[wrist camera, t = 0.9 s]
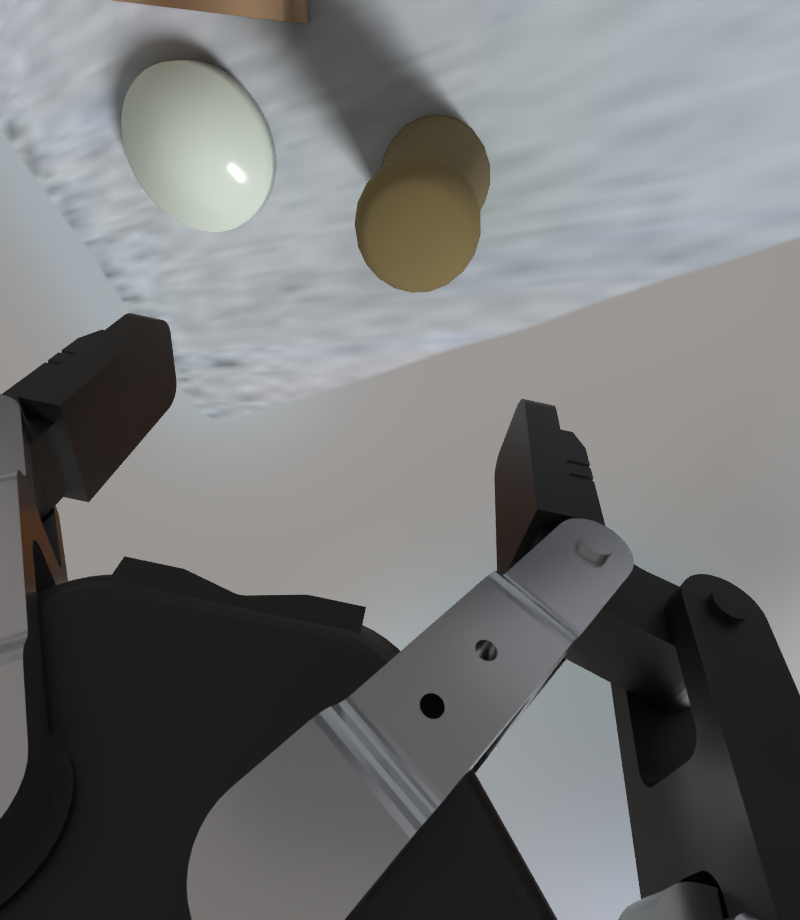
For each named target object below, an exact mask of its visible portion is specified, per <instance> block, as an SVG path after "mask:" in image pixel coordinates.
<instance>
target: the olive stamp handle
mask: <svg viewBox="0 0 800 920" xmlns="http://www.w3.org/2000/svg"><path fill="white" fill-rule="evenodd" d="M489 186H490V164H489V161H488V158H487V154H486V151H485V148H484V145H483V144H482V143H481V141H480V140H479V138H478V137H477V135H476V134H475V132H474V131H473V130H472V129H470V128H469V127H468V126H466V125H465V124H463V123H462V122H461V121H459V120H458V119H454V118H450V117H447V116H443V115H434V116H426V117H421V118H419V119H417V120H415V121H413V122H411V123H409V124H407V125H406V126H405V127H404V128H403V129H402V130H401V131H400V132H399V133H398V134H397V135H396V136H395V137H394V138H393V139H392V141H391V143H390V145H389V148H388V150H387V152H386V154H385V156H384V160H383V166H382V168H381V169H380V170H379V171H378V172H377V173H376V174H375V175H374V176H373V177H372V178H371V180H370V181H369V182H368V183H367V184H366V186H365V188H364V190H363V193H362V195H361V197H360V199H359V201H358V204H357V211H356V218H355V228H356V235H357V241H358V247H359V249H360V252H361V254H362V256H363V258H364V260H365V262H366V264H367V266H368V267H369V268H370V269H371V270H372V271H373V272H374V273H375V275H376V276H377V277H378V278H379V279H381V280H382V281H384V282H385V283H387V284H389V285H390V286H392V287H394V288H396V289H400V290H404V291H408V292H429V291H432V290H435V289H437V288H440V287H442V286H445V285H447V284H448V283H449V282H451V281H452V280H453V279H454V278H456V277H457V276H458V275H459V274H461V273H462V272H463V271H464V269H465V268H466V266H467V265H468V263H469V262H470V260H471V259H472V257H473V256H474V254H475V251H476V248H477V244H478V241H479V238H480V209H481V208H482V206H483V204H484V203H485V199H486V196H487V193H488V189H489Z"/></svg>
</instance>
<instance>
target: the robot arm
mask: <svg viewBox="0 0 800 920" xmlns="http://www.w3.org/2000/svg"><path fill="white" fill-rule="evenodd" d="M175 393H176V374H175V366H174V358H173V350H172V341H171V333H170V329H169V326H168V324H167V323H166V322H165V321H164V320H160V319H155V318H150V317H146V316H141V315H137V314H132V313H128V314H126V315H124V316H123V317H121V318H120V319H119V320H118V321H116V322H115V323H114V324H112V325H111V326H110V327H108V328H107V329H106V330H100V331H97V332H94V333H91V334H89V335H86V336H83V337H80V338H78V339H76V340H75V341H74V342H73V343H71V344H70V345H68V346H67V347H65V348H64V349H63V350H62V353H57V354H56V355H55V356H53V357H52V358H50V359H49V360H48V363H44V364H42V365H41V366H40V367H38V368H37V369H36V370H34V371H33V372H31V373H30V374H29V375H27V376H26V377H25V378H23V379H22V380H21V381H19V382H18V383H16V384H15V385H14V386H12V387H11V388H10V389H8V390H7V391H6V392H4V393H3V394H0V920H557V918H556V916H555V915H554V913H553V911H552V909H551V908H550V906H549V904H548V902H547V900H546V899H545V897H544V895H543V893H542V891H541V890H540V888H539V886H538V884H537V883H536V881H535V879H534V877H533V876H532V874H531V872H530V870H529V868H528V867H527V865H526V863H525V861H524V859H523V858H522V856H521V854H520V852H519V851H518V849H517V847H516V846H515V844H514V842H513V840H512V838H511V837H510V835H509V833H508V831H507V829H506V828H505V826H504V824H503V822H502V821H501V819H500V817H499V815H498V813H497V811H496V810H495V808H494V806H493V805H492V803H491V801H490V799H489V797H488V796H487V794H486V792H485V790H484V789H483V787H482V785H481V783H480V781H479V779H478V778H477V776H476V773H477V772H478V771H479V770H480V768H481V767H482V766H483V765H484V763H485V762H486V761H487V760H488V758H489V757H490V756H491V755H492V753H493V752H494V751H495V749H496V748H497V747H498V745H499V744H500V743H501V742H502V740H503V739H504V738H505V736H506V735H507V734H508V733H509V731H510V730H511V729H512V727H513V726H514V725H515V723H516V722H517V721H518V720H519V718H520V717H521V716H522V714H523V713H524V712H525V711H526V710H527V708H528V707H529V706H530V705H531V703H532V702H533V701H534V700H535V698H536V697H537V696H538V695H539V693H540V692H541V691H542V690H543V688H544V687H545V686H546V685H547V683H548V682H549V681H550V679H551V678H552V677H553V676H554V675H555V673H556V672H557V671H558V670H559V668H560V667H561V666H562V665H563V663H564V662H565V661H566V660H567V659H568V660H569V661H571V662H573V663H575V664H577V665H579V666H581V667H583V668H585V669H586V670H588V671H590V672H592V673H594V674H596V675H598V676H600V677H602V678H604V679H606V680H607V681H609V682H611V688H612V695H613V702H614V709H615V717H616V723H617V731H618V738H619V745H620V752H621V759H622V766H623V773H624V780H625V787H626V794H627V801H628V809H629V816H630V823H631V830H632V837H633V844H634V851H635V858H636V865H637V873H638V880H639V886H640V894H641V900H639V901H637V902H634V903H633V904H631V905H630V906H628V907H627V908H626V909H625V910H624V911H623V912H622V914H621V916H620V917H619V919H618V920H800V695H799V692H798V690H797V688H796V685H795V683H794V681H793V678H792V677H791V674H790V672H789V669H788V667H787V665H786V662H785V660H784V658H783V655H782V653H781V651H780V649H779V646H778V644H777V641H776V639H775V637H774V634H773V632H772V630H771V628H770V625H769V623H768V621H767V618H766V617H765V615H764V613H763V611H762V610H761V609H760V607H759V606H758V605H757V604H756V602H755V601H754V600H753V599H752V598H751V597H750V596H748V595H747V594H746V593H745V592H744V591H742V590H741V589H740V588H738V587H737V586H735V585H733V584H732V583H730V582H728V581H726V580H724V579H721V578H718V577H715V576H712V575H706V574H697V575H693V576H690V577H689V578H687V579H686V580H685V581H684V582H683V584H682V585H681V586H680V587H679V586H677V585H674V584H672V583H670V582H668V581H666V580H664V579H662V578H659V577H657V576H655V575H653V574H651V573H649V572H646V571H645V570H643V569H641V568H639V567H637V566H636V565H634V560H633V556H632V553H631V551H630V549H629V547H628V546H627V544H626V543H625V542H624V541H623V539H622V538H621V537H620V536H618V535H617V534H616V533H615V532H614V531H612V530H611V529H609V528H608V527H606V526H605V523H604V519H603V515H602V512H601V507H600V503H599V499H598V496H597V491H596V488H595V484H594V482H593V481H592V480H593V476H592V472H591V469H590V468H589V465H590V464H589V461H588V456H587V452H586V449H585V447H584V446H583V445H582V443H581V442H580V441H579V440H578V438H577V437H576V436H575V434H574V433H573V432H569V431H564V430H560V426H559V421H558V416H557V411H556V407H555V406H553V405H548V404H544V403H539V402H534V401H530V400H525V399H521V400H520V402H519V403H518V405H517V408H516V410H515V413H514V416H513V418H512V421H511V423H510V426H509V429H508V431H507V434H506V437H505V439H504V442H503V444H502V447H501V449H500V452H499V455H498V459H497V463H496V468H495V509H496V546H497V571H494V572H492V573H491V574H489V575H488V576H487V577H485V578H484V579H483V580H482V581H481V582H480V583H478V584H477V585H476V586H475V587H474V588H473V589H472V590H471V591H469V592H468V593H467V594H466V595H465V596H464V597H463V598H461V599H460V600H459V601H458V602H457V603H456V604H455V605H453V606H452V607H451V608H450V609H449V610H448V611H446V612H445V613H444V614H443V615H442V616H441V617H440V618H439V619H437V620H436V621H435V622H434V623H433V624H432V625H430V626H429V627H428V628H427V629H426V630H425V631H424V632H422V633H421V634H420V635H419V636H418V637H417V638H416V639H414V640H413V641H412V642H411V643H410V644H409V645H408V646H406V647H405V648H404V649H403V650H402V651H400V650H399V649H398V648H397V647H395V646H394V645H393V644H392V643H391V642H389V641H388V640H387V639H386V638H384V637H382V636H381V635H379V634H378V633H376V632H375V631H373V630H371V629H369V628H367V627H365V626H363V625H362V623H363V618H364V613H365V608H366V607H363V606H358V605H353V604H348V603H344V602H339V601H334V600H330V599H325V598H320V597H315V596H310V595H259V596H258V595H257V596H244V595H238V594H235V593H233V592H231V591H229V590H227V589H224V588H222V587H220V586H218V585H216V584H214V583H212V582H210V581H208V580H206V579H204V578H202V577H199V576H197V575H195V574H193V573H191V572H189V571H187V570H185V569H182V568H177V567H172V566H167V565H162V564H157V563H153V562H148V561H143V560H138V559H134V558H129V557H124V558H123V560H122V561H121V562H120V564H119V565H118V567H117V568H116V570H115V571H114V572H113V574H112V575H101V576H92V577H86V578H81V579H76V580H72V581H68V577H67V569H66V562H65V555H64V548H63V540H62V533H61V526H60V519H59V514H58V511H57V508H56V504H57V503H58V502H59V501H60V500H61V499H62V498H63V497H67V498H72V499H76V500H82V501H86V502H89V501H90V500H91V499H92V498H93V497H94V495H95V494H96V493H97V492H98V491H99V490H100V488H101V487H102V486H103V485H104V484H105V483H106V481H107V480H108V479H109V478H110V477H111V475H112V474H113V473H114V472H115V471H116V469H118V467H119V466H120V465H121V464H122V463H123V461H124V460H125V459H126V458H127V457H128V456H129V455H130V453H131V452H132V451H133V450H134V449H135V447H136V446H137V445H138V444H139V443H140V442H141V440H142V439H143V438H144V437H145V436H146V434H147V433H148V432H149V431H150V430H151V429H152V427H153V426H154V425H155V424H156V423H157V422H158V421H159V419H160V418H161V417H162V416H163V414H165V412H166V411H167V410H168V409H169V408H170V406H171V404H172V402H173V400H174V397H175Z"/></svg>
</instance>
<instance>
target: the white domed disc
mask: <svg viewBox="0 0 800 920" xmlns="http://www.w3.org/2000/svg"><path fill="white" fill-rule="evenodd" d="M121 132H122V139H123V145H124V149H125V152H126V156H127V159H128V161H129V164H130V167H131V169H132V171H133V173H134V175H135V177H136V179H137V180H138V182H139V184H140V185H141V187H142V188H143V189H144V191H145V192H146V194H147V195H148V196H149V197H150V198H151V200H152V201H153V202H154V203H155V204H156V205H157V206H158V207H159V208H160V209H161V210H162V211H164V212H165V213H166V214H168V215H169V216H170V217H171V218H173V219H175V220H176V221H178V222H180V223H182V224H184V225H186V226H188V227H191V228H193V229H196V230H201V231H206V232H223V231H227V230H231V229H233V228H236V227H238V226H240V225H241V224H243V223H244V222H246V221H247V220H248V219H250V218H251V217H252V216H254V215H255V214H256V213H257V212H258V211H259V210H260V209H261V208H262V207H263V205H264V204H265V202H266V201H267V199H268V197H269V195H270V193H271V190H272V188H273V184H274V180H275V172H276V155H275V147H274V142H273V138H272V134H271V131H270V128H269V125H268V123H267V121H266V119H265V116H264V114H263V113H262V111H261V109H260V107H259V106H258V104H257V103H256V101H255V100H254V98H253V97H252V96H251V94H250V93H249V92H248V91H247V90H246V89H245V88H244V86H243V85H241V84H240V83H239V82H238V81H237V80H236V79H235V78H234V77H232V76H231V75H229V74H228V73H227V72H225V71H223V70H222V69H220V68H218V67H216V66H214V65H211V64H208V63H206V62H201V61H197V60H176V61H167V62H161V63H158V64H155V65H152V66H151V67H149V68H147V69H145V70H144V71H143V72H142V73H141V74H139V75H138V76H137V78H136V79H135V80H134V81H133V83H132V84H131V86H130V88H129V89H128V91H127V94H126V97H125V99H124V103H123V108H122V115H121Z"/></svg>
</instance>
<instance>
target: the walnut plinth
mask: <svg viewBox="0 0 800 920" xmlns="http://www.w3.org/2000/svg"><path fill="white" fill-rule="evenodd" d="M114 1H122V2H130V3H138V4H147V5H155V6H163V7H171V8H179V9H187V10H195V11H204V12H212V13H220V14H228V15H236V16H244V17H253V18H261V19H269V20H277V21H286V22H297V23H309V17H308V0H114Z"/></svg>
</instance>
